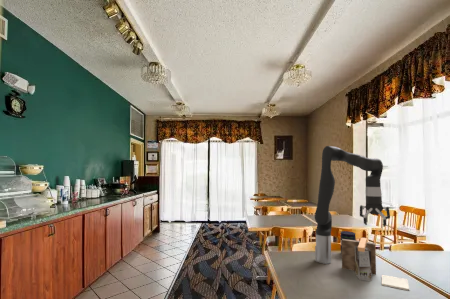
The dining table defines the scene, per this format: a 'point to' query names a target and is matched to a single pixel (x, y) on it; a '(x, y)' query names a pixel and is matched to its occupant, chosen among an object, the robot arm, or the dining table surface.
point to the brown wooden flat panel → (349, 254)
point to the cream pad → (395, 282)
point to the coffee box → (363, 264)
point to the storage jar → (347, 236)
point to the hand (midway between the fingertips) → (375, 225)
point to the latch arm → (362, 244)
